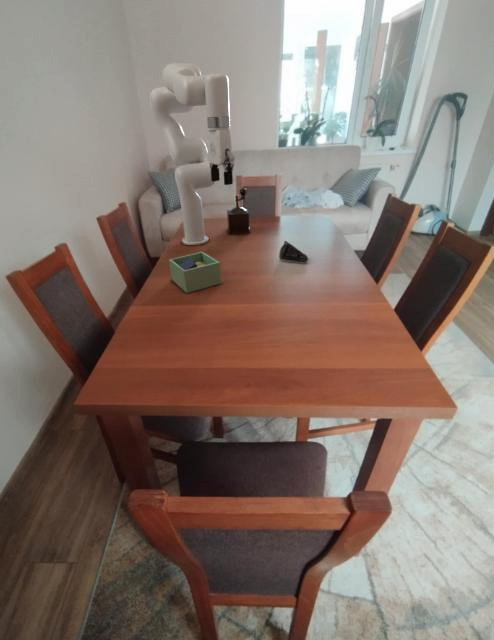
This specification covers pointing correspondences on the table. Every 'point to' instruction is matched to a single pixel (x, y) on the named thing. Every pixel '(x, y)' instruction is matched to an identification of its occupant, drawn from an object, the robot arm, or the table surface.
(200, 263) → the birch block
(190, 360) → the table surface
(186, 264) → the navy block
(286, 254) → the chocolate cake
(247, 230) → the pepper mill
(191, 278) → the bin
